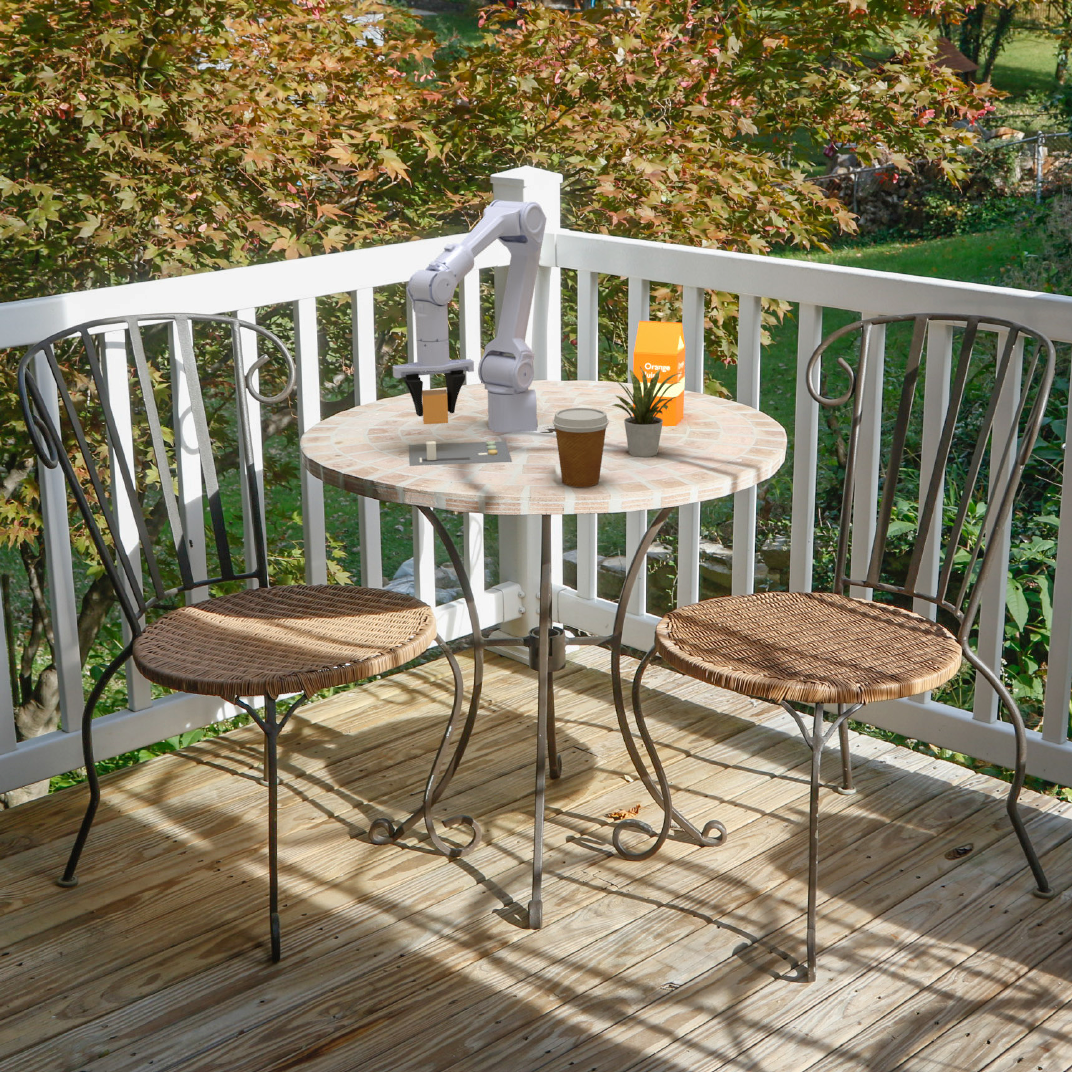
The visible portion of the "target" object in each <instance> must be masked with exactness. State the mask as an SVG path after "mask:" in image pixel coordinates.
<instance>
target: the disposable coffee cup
mask: <svg viewBox="0 0 1072 1072" xmlns="http://www.w3.org/2000/svg"><path fill="white" fill-rule="evenodd" d="M609 423H610V420H609V419H608V415H607V413H606V412H605V411H604V410H602V409H600V408H599V409H598V408H591V407H571V408H570V407H569V408H564V409H560V410H557V411H556V412H555V413H554V417H553V419H552V424H553V426H554V428H555V437H556V443H557V452H558V459H559V466H560V475H561V481H562V482H561V483H562V484H564V486H568V487H573V488H587V487H588V488H589V487H593V485H594V486H596V485H598V484H599V483H600V477H601V470H602V469H601V468H602V462H603V453H604V446H605V438H606V430H607V428H608V424H609Z"/></svg>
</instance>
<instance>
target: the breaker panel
mask: <svg viewBox="0 0 1072 1072" xmlns="http://www.w3.org/2000/svg"><path fill="white" fill-rule="evenodd" d="M408 455H409V457H408V458H409V466H411V467H413V466H415V467H416V466H438V465H439V466H443V465H466V464H469V465H470V464H490V463H492V464H493V463H496V464H497V463H512V462H513V460H512V456H511V454H510V450H509V447H508V443H507V441H505V440H504V441H503V440H499V441H494V440H487V441H473V442H471V441H470V442H447V443H446V442H445V443H444V442H443V443H436V460H427V443H418V444H417V443H416V444H408Z"/></svg>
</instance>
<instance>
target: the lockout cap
mask: <svg viewBox="0 0 1072 1072" xmlns="http://www.w3.org/2000/svg"><path fill="white" fill-rule="evenodd" d="M422 404H423V416H422V418H423V419H422V420H423V425H431V424H432V425H434V424H435V425H437V424H438V425H439V424H441V425H442V424H449V412H448V402H447V388H446V389H424V390H423V389H422Z"/></svg>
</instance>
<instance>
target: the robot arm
mask: <svg viewBox="0 0 1072 1072" xmlns="http://www.w3.org/2000/svg"><path fill="white" fill-rule="evenodd" d="M482 214H483V215H482V219H480V220H479V222H478V223H477V224H476V225H475V227H474V228H473V229H472V230H471V231H470V232H468V234H467V236H466V237H465V238H464V239H463V240H462V241H461V243H452V244H447V245H446V246H444V247H443V250H444V251H442V252H441V253H440V254H439V255H438V256H437V257H436V258H435V259H434V260H433V261H431V262H429V264H428V266H427V267H426V268H425V269H418V270H417V271H415V272H414V273H413V274H412V275H411V276H410V278H409V281H408V286H407V287H406V293H407V295H408V298H409V299H410V301H411V304H412V307H411V308H412V310H413V312H414V316H415V337H416V339H415V340H416V362H411V363H405V364H404V363H403V364H397V365H392V377H394V378H395V379H403V381H404V384H405V385H406V387H407V389H408V392H409V394H410V397H411V399H412V402H413V405H414V409H415V414H416V415H417V417H423V400H422V390H423V388H424V386H423V385H424V382H423V380H422V379H421V377H420V376H429V375H441V374H444V378H445V385H446V387H445V388H446V390H447V402H448V413H450V414H455V410H456V405H457V400H458V397H459V394H460V391H461V389H462V386H463V384H464V383H465V380H466V374H465V373H464V372H468V373H473V372H474V371H475V366H474V365H475V364H474V362H475V361H474V360H473V359H471V358H467V359H450V347H449V346H450V341H449V312H448V311H449V309H448V304H449V302H451V301H452V300H453V297H454V294H455V290H456V288H457V287H458V284H459V283H460V282H461V281H462V280H463V279H464V278H465V277H466V276H467V275H468V274H469V273H470V272H471V271H472V270H473V268H474V266H475V258H476V257H478V256H479V254H481V253H483V252H484V250H485V249H487V247H489V246H490V245H491V244H493V242H495V241H496V240H498V242H500V243H501V244H502V245H503V246H504V247H506V249H507V250H508V252H509V253H510V261H509V265H508V271H507V277H506V282H505V283H506V284H505V288H504V295H503V299H502V300H503V301H502V306H501V310H500V311H501V312H500V317H499V320H498V321H499V322H498V329H497V334H496V337H494V339H492V340H491V341H489V342H488V343H487V344H486V345H485V347H484V352H483V355H482V357H481V359H480V361H479V363H478V367H477V373H478V374H477V376H478V378H479V381H480V382H481V384H482V385H484V389H485V390H487V413H488V414H487V417H488V419H487V420H488V422H487V423H488V430H489V431H492V432H495V433H503V434H505V433H519V432H537V431H538V423H539V421H538V415H537V413H538V412H537V409H538V407H537V393H536V390H535V389H531V388H530V386H531V384H532V383H533V381H534V378H535V368H534V360H535V359H534V358H535V353H534V351H532V349H531V348H530V347H529V346H528V344H527V343H526V337H527V332H528V331H527V330H528V325H529V320H530V315H531V309H532V304H533V303H532V302H533V298H534V297H533V296H534V292H535V287H536V282H537V281H536V280H537V275H538V271H539V264H540V258H541V253H542V246H543V241H544V234H545V230H546V224H547V216H546V214H545V213H544V211H543V208H542V207H541V205H540V204H539V203H538V202H536V201H529V202H527V201H511V200H502V199H495V200H493V201H491V202H490V203H489V205H488V206H486V207H485V208H484V209H483V213H482ZM506 354H508V355H506ZM512 355H513V356H512ZM529 388H530V389H529Z"/></svg>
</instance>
